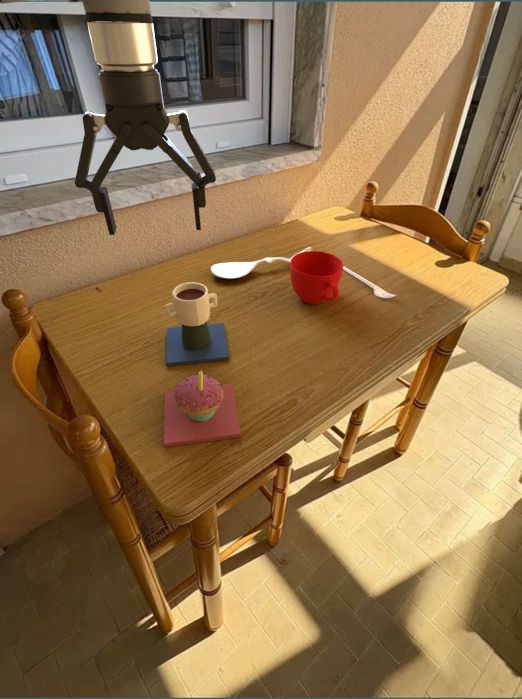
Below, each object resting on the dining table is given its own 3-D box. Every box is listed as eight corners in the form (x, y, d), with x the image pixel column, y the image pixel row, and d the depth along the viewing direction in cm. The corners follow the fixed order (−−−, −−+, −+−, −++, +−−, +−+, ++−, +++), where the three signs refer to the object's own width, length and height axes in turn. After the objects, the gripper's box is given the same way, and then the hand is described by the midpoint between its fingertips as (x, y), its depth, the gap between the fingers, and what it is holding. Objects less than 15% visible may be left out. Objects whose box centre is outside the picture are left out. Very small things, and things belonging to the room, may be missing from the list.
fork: (346, 267, 112) (347, 261, 110) (397, 300, 99) (399, 294, 98) (337, 270, 110) (338, 264, 109) (388, 304, 98) (390, 297, 96)
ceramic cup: (308, 325, 90) (313, 289, 84) (279, 289, 102) (281, 255, 96) (355, 314, 94) (363, 278, 88) (322, 280, 106) (326, 247, 99)
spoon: (322, 269, 111) (324, 258, 109) (215, 286, 103) (214, 274, 101) (310, 255, 117) (311, 245, 115) (208, 270, 109) (207, 259, 107)
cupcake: (233, 414, 68) (231, 365, 61) (193, 439, 64) (185, 390, 56) (207, 387, 73) (202, 339, 66) (168, 408, 69) (157, 360, 61)
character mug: (214, 326, 88) (210, 277, 79) (225, 344, 83) (222, 293, 75) (168, 338, 84) (158, 288, 76) (177, 358, 79) (167, 307, 71)
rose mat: (164, 447, 64) (163, 443, 63) (165, 394, 73) (165, 391, 72) (240, 437, 66) (240, 433, 65) (233, 387, 75) (232, 383, 74)
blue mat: (166, 366, 79) (165, 363, 78) (167, 331, 88) (167, 327, 87) (228, 360, 81) (228, 356, 80) (223, 326, 90) (223, 322, 89)
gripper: (224, 65, 52) (230, 216, 66) (31, 64, 49) (80, 223, 63) (229, 70, 47) (235, 234, 61) (13, 70, 44) (71, 243, 58)
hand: (156, 229), depth 62 cm, fingers open, 13 cm apart
